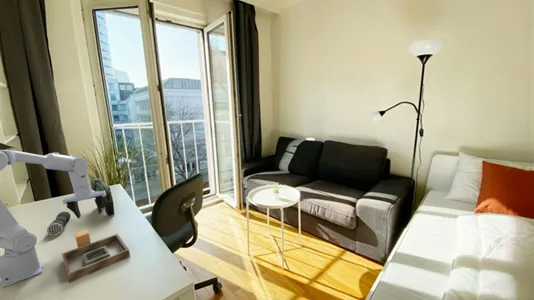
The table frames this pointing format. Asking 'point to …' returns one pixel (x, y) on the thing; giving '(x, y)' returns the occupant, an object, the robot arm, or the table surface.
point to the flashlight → (58, 223)
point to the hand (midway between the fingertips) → (90, 214)
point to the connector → (82, 238)
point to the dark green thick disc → (107, 202)
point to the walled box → (98, 262)
